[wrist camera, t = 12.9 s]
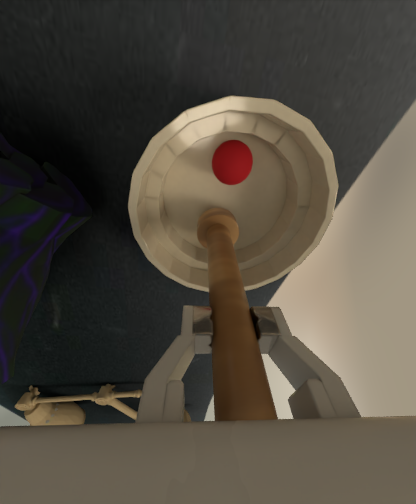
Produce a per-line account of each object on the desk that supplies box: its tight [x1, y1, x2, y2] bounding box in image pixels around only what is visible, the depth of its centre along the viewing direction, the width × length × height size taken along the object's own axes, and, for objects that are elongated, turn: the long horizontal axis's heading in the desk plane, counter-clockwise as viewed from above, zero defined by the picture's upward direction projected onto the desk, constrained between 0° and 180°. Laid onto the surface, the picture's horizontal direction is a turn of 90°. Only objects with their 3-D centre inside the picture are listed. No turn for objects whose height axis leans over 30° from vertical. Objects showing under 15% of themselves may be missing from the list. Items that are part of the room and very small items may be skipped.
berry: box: [212, 140, 253, 185], centre depth 14 cm, size 3×3×3 cm
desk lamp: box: [15, 384, 191, 426], centre depth 50 cm, size 15×35×40 cm
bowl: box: [128, 96, 338, 292], centre depth 16 cm, size 15×15×6 cm
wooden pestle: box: [197, 208, 278, 421], centre depth 12 cm, size 4×4×16 cm
